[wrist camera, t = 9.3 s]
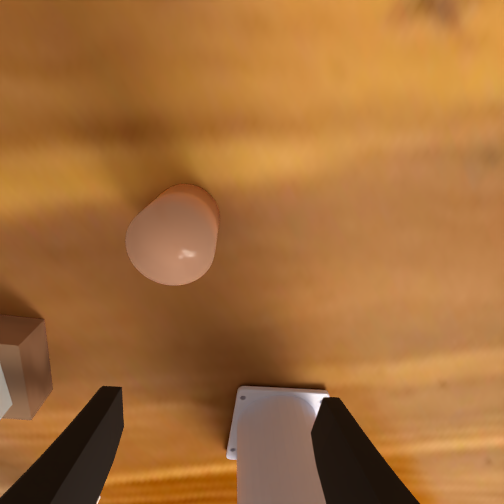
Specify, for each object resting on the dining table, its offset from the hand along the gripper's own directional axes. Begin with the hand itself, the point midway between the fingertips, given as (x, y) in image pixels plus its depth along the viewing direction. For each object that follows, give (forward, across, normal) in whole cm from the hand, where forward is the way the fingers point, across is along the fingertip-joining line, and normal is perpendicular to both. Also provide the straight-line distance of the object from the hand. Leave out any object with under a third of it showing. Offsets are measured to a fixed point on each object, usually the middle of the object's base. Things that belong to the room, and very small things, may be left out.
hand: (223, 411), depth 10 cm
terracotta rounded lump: (+10, +3, -4) cm, 11 cm away
